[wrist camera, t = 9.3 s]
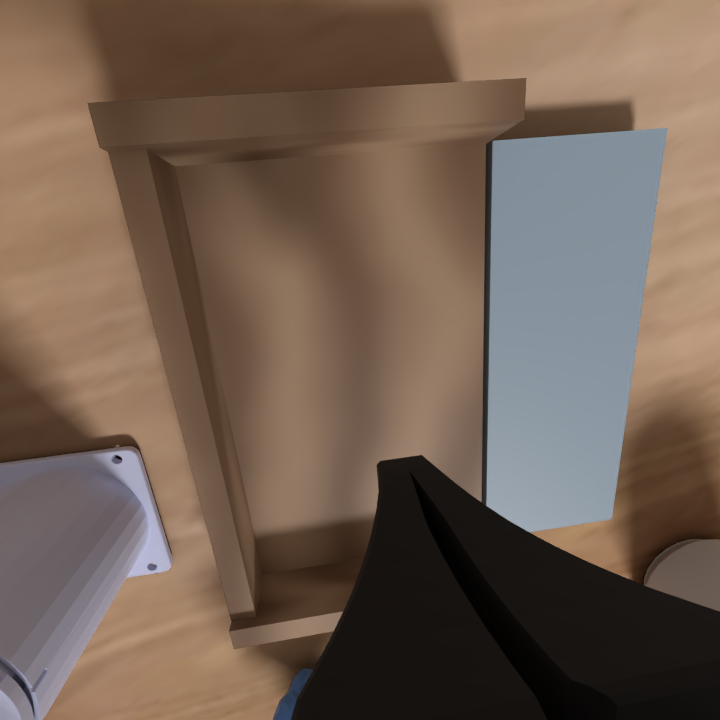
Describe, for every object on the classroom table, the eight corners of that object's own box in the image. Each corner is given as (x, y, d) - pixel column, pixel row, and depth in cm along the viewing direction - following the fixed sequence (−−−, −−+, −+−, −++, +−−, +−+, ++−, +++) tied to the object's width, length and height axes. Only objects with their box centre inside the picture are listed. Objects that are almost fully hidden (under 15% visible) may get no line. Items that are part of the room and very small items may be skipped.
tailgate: (485, 539, 22) (611, 519, 22) (492, 140, 15) (667, 127, 16) (480, 529, 22) (601, 510, 23) (484, 146, 16) (651, 133, 17)
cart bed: (250, 572, 22) (233, 649, 18) (151, 144, 15) (87, 102, 11) (470, 536, 23) (505, 600, 19) (471, 123, 16) (526, 78, 12)
